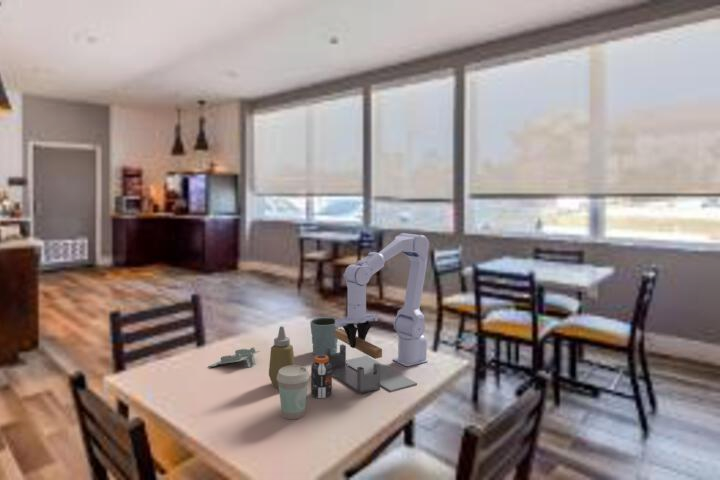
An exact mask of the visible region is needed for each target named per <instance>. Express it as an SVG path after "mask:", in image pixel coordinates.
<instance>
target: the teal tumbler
mask: <svg viewBox="0 0 720 480" xmlns="http://www.w3.org/2000/svg"><path fill="white" fill-rule="evenodd" d="M335 320H338V319H337V318H334V317H330V316H329V317H327V316H326V317H325V316H324V317H316V318H313V319H312V320H310V322H309V323H310V333H311V343H312V353H313V355H314V357H315V356H317V355H325V348H327V347H328V348H330V349H331V354H334V353H338V342H339V341H338V340H339V339H337V338H336V337H334V330H335V329H339V328H338V327H336V326H335Z"/></svg>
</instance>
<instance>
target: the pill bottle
mask: <svg viewBox="0 0 720 480" xmlns="http://www.w3.org/2000/svg"><path fill="white" fill-rule="evenodd" d="M310 369H311V370H310V372H311V373H310V375H311V376H310V394H311V396H312V397H313V398H316V399H326V398H329V397H331V395H333V391H332V390H333V389H332V388H333V385H332V384H333V383H332V382H333V375H332V365H331V364H330V363H329V357H328V356H327V355H317V356H315V355H314V362H313V363H312V364H311V367H310Z"/></svg>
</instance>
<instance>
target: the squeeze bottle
mask: <svg viewBox="0 0 720 480" xmlns="http://www.w3.org/2000/svg"><path fill="white" fill-rule="evenodd" d="M295 362H296V361H295V354H294V347H293V345H292V344H291V340H290V337H288V336H286V331H285V327H284V326H283V325H282V326H279V329H278V335H277V336H276V337H274V338H273V345H271V347H270V357H269V366H268V367H269V368H268V376H269V379H270V383H271V385H272V387H273V388H275V389H279V386H278V381H277V374H278V372H279V370H280V369H281V368H283V367H285V366H290V365H296V364H295Z"/></svg>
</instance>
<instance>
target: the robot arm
mask: <svg viewBox="0 0 720 480" xmlns="http://www.w3.org/2000/svg"><path fill="white" fill-rule="evenodd" d="M429 248H430V240H429V239H428V238H427V237H426V235H424V234H414V233H406V232H401V233H400V234H398V235H397V236H395V237H394V239H393V241H391V242H390V243H389V244H387V245H386V246H385V247H384V248H382V250H380V251H379V252H376V251H370V252H368V253H367V256H366V257H364V258H362V259H359V260H358V261H357V262H356V263H355V264H349V265H348V266H347V267H346V268H345V271H344V273H343V279H344V280H345V282H346V287H347V316H345V317H342V318H339V319H337V320H335V326H336V327H338V329H340V328H341V327H342V329H343V330H345V332H346V334H347V337H348V340H349V344H350V345H349V347H350V348H352V349H356V348H355V344H356V336H357V337H359V338H361V339H363V340H365V341H366V338H367V335H368V333H369V330H370V329H371V327H372V324H371V323H370V322H378V321H379V315H378V314H376V313H367V284H369V282H370V279H371V277H373V275H374V274H376V273H377V272H379V271H380V270H381V269H383V268H384V266H385V262H386V261H388V260H390V259H392V258H394V257H395V256H396V255H399V254H401V253H402V254H403V255H404V256H406V257H407V259H408V260H409V261H410V267H409V273H408V277H407V279H408V280H407V285H406V292H405V297H404V304H403V306H402V307H401V308H400V309H398V310H397V313H396V317H395V318H394V321H393V329H394V330H395V331H396V335H397V336H398V338H397V339H398V342H397V344H398V345H397V346H398V347H397V349H398V350H397V357H393V358H392V361H394V362H397V363H399V364H400V365H402V366H405V367H411V366H414V365H419V364H424V363H428V361H429V360H428V359H427V343H428V342H427V340H426V337H425V335H423V334H424V333H425V329H426V326H425V318H426V317H425V315H424V313H423V312H422V311H421V308H420V307H421V304H422V303H421V302H422V296H423V290H424V283H425V277H426V272H427V264H428V258H429V257H428V255H429ZM355 325H356V326H355Z"/></svg>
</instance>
